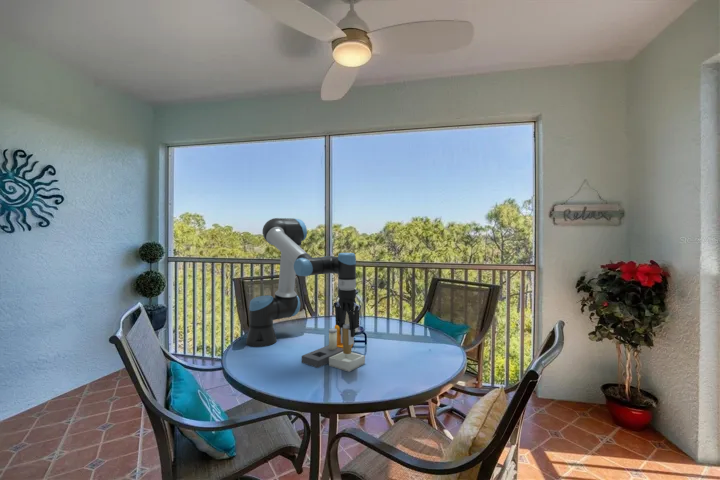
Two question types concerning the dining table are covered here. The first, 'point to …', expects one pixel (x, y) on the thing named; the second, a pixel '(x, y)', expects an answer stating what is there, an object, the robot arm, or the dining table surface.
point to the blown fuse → (346, 339)
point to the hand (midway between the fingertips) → (347, 343)
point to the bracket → (339, 337)
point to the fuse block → (323, 352)
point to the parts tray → (347, 361)
